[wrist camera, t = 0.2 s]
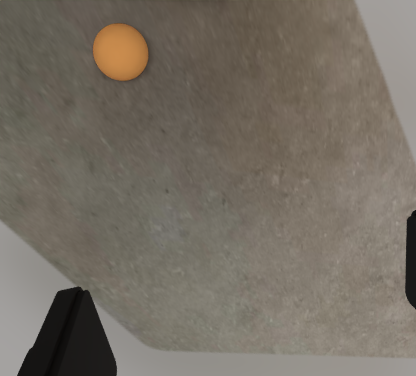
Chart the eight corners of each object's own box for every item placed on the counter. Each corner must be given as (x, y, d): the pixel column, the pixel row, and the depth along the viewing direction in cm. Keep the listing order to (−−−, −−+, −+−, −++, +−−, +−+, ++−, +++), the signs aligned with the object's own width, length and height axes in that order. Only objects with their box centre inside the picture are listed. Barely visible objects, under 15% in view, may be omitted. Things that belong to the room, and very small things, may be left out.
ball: (90, 31, 35) (79, 28, 30) (141, 19, 35) (137, 15, 30) (107, 83, 37) (99, 88, 32) (155, 72, 37) (154, 75, 32)
